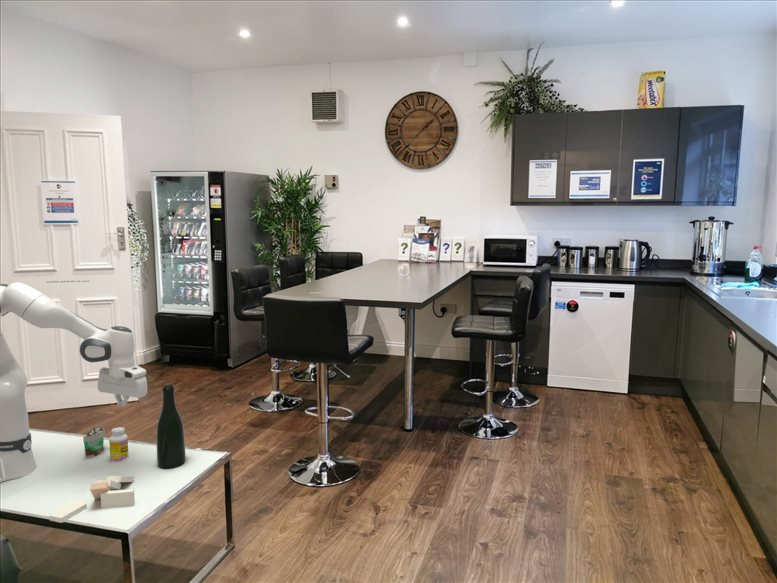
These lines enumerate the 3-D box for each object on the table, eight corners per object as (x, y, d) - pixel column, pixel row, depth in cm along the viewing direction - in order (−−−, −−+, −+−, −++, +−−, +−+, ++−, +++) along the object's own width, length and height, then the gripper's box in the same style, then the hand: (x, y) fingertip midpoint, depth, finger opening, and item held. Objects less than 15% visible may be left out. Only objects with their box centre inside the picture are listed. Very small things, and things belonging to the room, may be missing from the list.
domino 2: (111, 497, 201) (106, 487, 193) (95, 499, 199) (89, 489, 192) (111, 491, 202) (106, 481, 194) (95, 493, 200) (90, 483, 193)
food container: (101, 460, 231) (99, 436, 230) (84, 461, 230) (82, 437, 229) (110, 448, 243) (109, 425, 242) (94, 449, 242) (93, 426, 241)
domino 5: (101, 508, 194) (133, 505, 196) (100, 494, 193) (132, 491, 195) (103, 505, 196) (134, 502, 198) (102, 491, 195) (133, 488, 197)
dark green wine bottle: (177, 472, 221) (173, 388, 217) (151, 470, 223) (147, 386, 218) (191, 461, 231) (187, 380, 227) (166, 459, 233) (163, 379, 229)
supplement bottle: (121, 464, 228) (119, 433, 226) (106, 462, 229) (104, 431, 227) (132, 457, 234) (130, 426, 232) (117, 456, 235) (116, 425, 234)
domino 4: (120, 489, 207) (110, 486, 198) (105, 490, 206) (94, 486, 197) (121, 483, 207) (111, 480, 198) (106, 484, 207) (95, 480, 198)
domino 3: (133, 481, 213) (120, 482, 203) (119, 481, 213) (106, 481, 204) (134, 476, 213) (121, 476, 204) (120, 475, 214) (107, 476, 204)
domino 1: (86, 509, 194) (61, 524, 184) (75, 506, 195) (49, 521, 186) (86, 503, 193) (61, 518, 184) (74, 501, 195) (49, 515, 186)
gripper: (93, 368, 217) (93, 404, 218) (137, 374, 210) (138, 411, 212) (106, 364, 222) (106, 399, 224) (150, 371, 216) (150, 407, 218)
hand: (122, 405), depth 218 cm, fingers closed
